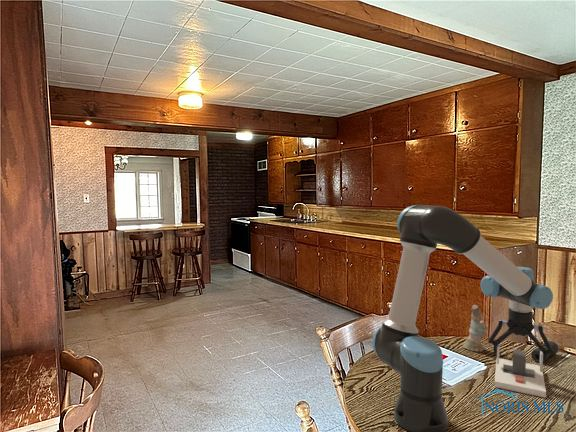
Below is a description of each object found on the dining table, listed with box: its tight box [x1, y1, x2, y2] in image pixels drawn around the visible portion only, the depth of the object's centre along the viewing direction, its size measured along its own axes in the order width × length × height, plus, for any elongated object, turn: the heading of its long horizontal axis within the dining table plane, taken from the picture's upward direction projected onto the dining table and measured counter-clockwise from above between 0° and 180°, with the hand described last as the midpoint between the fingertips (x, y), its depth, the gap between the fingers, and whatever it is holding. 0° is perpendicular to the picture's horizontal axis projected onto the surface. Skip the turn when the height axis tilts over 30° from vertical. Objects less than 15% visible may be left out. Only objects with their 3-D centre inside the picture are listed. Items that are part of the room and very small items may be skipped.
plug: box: [512, 349, 527, 376], centre depth 143 cm, size 8×4×8 cm, turn 149°
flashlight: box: [530, 339, 560, 364], centre depth 158 cm, size 15×5×5 cm, turn 128°
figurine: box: [462, 304, 489, 353], centre depth 167 cm, size 9×8×20 cm
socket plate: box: [493, 357, 547, 398], centre depth 141 cm, size 22×15×3 cm
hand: (518, 366), depth 142 cm, fingers open, 13 cm apart
